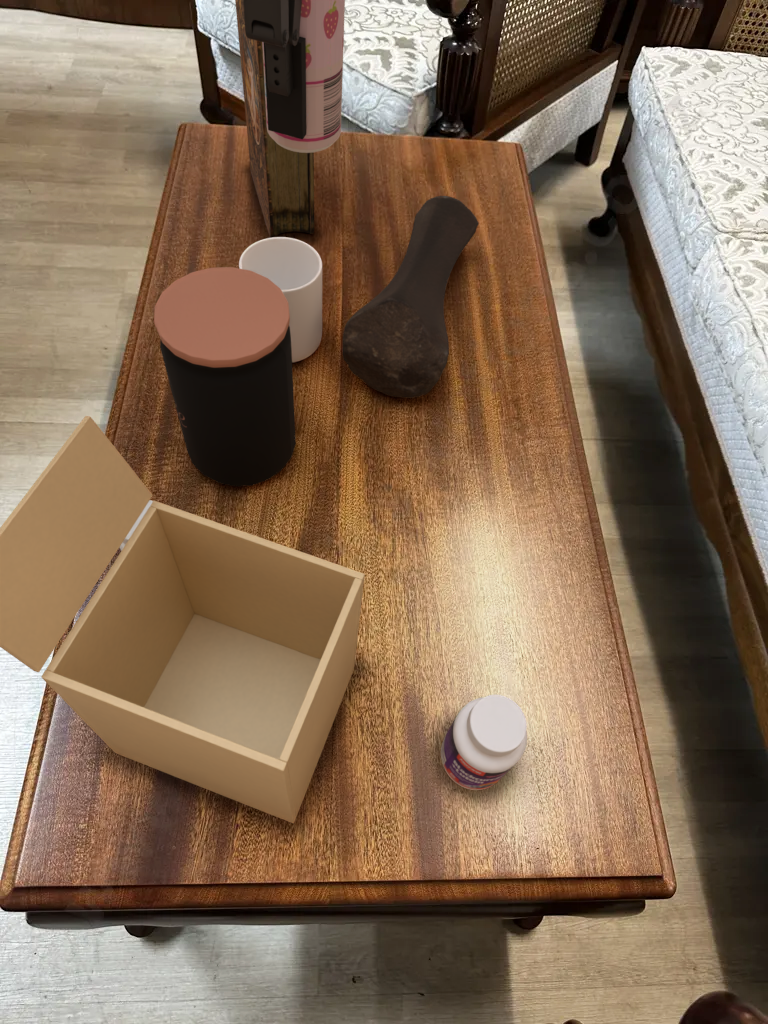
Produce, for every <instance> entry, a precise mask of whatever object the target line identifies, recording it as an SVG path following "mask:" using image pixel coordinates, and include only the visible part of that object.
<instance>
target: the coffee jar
mask: <svg viewBox="0 0 768 1024" xmlns="http://www.w3.org/2000/svg"><path fill="white" fill-rule="evenodd" d="M289 322H290V314H289V303H288V301H287V299H286V298H285V296H284V294H283V292H282V291H281V289H280V288H279V287H278V286H276V285H275V284H274V283H273V282H272V281H271V280H269V279H268V278H266V277H264V276H262V275H259V274H257V273H255V272H253V271H250V270H244V269H239V268H238V267H233V266H222V267H221V266H218V267H217V266H216V267H208V268H204V269H200V270H196V271H192V272H189V273H187V274H186V275H183V276H181V277H179V278H178V279H175V280H173V282H172V283H171V284H169V285H168V286H167V287H166V288H165V289H164V290H163V291H162V292H161V293H160V296H159V298H158V300H157V301H156V303H155V304H154V314H153V324H154V326H155V329H156V331H157V333H158V336H159V338H160V339H159V340H160V341H159V348H160V351H161V357H162V359H163V363H164V364H163V365H164V368H165V371H166V375H167V379H168V383H169V387H170V390H171V395H172V398H173V399H172V400H173V402H174V405H175V410H176V414H177V417H178V421H179V425H180V430H181V433H182V437H183V441H184V445H185V448H186V453H187V454H188V456H189V459H190V461H191V464H192V465H193V466H194V467H195V468H196V469H197V470H198V471H199V472H200V473H201V474H202V475H203V476H205V477H206V478H209V479H210V480H212V481H213V482H216V483H217V484H222V485H226V486H231V487H251V486H252V487H253V486H255V485H258V484H261V483H264V482H267V481H268V480H270V479H271V478H274V476H276V475H277V474H279V473H280V472H282V471H283V470H284V468H285V467H286V465H287V464H288V463H289V461H290V460H291V459H292V458H293V454H294V451H295V448H296V445H297V439H296V419H295V418H296V417H295V416H296V415H295V395H294V378H293V377H294V374H293V362H292V350H291V335H290V326H289Z"/></svg>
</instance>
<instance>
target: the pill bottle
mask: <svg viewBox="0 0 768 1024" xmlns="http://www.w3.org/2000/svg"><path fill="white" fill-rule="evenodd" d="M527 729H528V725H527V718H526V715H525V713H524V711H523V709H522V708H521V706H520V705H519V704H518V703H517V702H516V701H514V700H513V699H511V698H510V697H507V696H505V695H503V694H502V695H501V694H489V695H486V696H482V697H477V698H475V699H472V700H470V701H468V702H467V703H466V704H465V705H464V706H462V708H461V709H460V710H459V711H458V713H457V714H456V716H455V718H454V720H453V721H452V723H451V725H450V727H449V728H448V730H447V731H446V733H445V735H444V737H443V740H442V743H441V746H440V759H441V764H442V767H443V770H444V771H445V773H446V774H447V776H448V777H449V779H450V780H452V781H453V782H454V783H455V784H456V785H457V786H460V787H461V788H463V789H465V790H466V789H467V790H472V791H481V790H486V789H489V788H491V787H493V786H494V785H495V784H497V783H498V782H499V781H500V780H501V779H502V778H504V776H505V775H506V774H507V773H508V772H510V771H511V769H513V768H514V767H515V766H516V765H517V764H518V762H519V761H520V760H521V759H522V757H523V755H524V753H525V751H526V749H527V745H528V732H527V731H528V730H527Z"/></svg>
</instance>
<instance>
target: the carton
mask: <svg viewBox="0 0 768 1024" xmlns="http://www.w3.org/2000/svg"><path fill="white" fill-rule="evenodd" d="M152 501H153V502H152V504H151V506H150V507H149V509H148V510H147V512H146V513H145V515H144V516H143V518H142V520H141V521H140V523H139V524H138V526H137V527H136V529H135V531H134V532H133V534H132V535H131V537H130V538H129V540H128V541H127V543H126V545H125V546H124V548H123V549H122V551H121V550H120V552H119V553H118V555H117V557H116V559H115V560H114V562H113V564H111V567H110V568H109V570H108V571H107V573H106V574H105V576H104V577H103V578H102V581H101V582H100V584H99V585H98V587H97V588H96V590H95V591H94V593H93V595H92V596H91V598H90V599H89V601H88V602H87V604H86V606H85V607H84V609H83V610H82V612H81V614H80V615H79V617H78V618H77V620H76V621H75V623H74V624H73V626H72V628H71V629H70V631H69V633H67V636H66V637H65V639H64V640H63V642H62V643H61V645H60V647H58V650H57V651H56V653H55V654H54V656H53V657H52V659H51V661H50V662H49V663H48V665H47V667H46V669H45V670H44V671H43V673H42V674H41V679H42V680H43V681H44V682H45V683H46V684H47V685H48V686H49V687H50V688H51V689H52V690H53V691H54V692H55V693H56V694H57V695H58V696H59V697H60V698H61V699H62V701H64V702H65V704H67V705H68V707H70V708H71V710H72V711H74V712H75V714H76V715H77V716H78V717H80V719H82V720H83V722H84V723H85V724H86V725H87V726H88V727H89V728H90V729H91V730H92V731H93V732H94V733H95V734H96V735H97V736H98V737H99V738H100V739H101V740H102V741H103V742H104V743H105V744H106V745H107V747H109V748H110V750H112V752H113V753H114V754H117V755H119V756H121V757H124V758H127V759H129V760H132V761H134V762H137V763H139V764H142V765H144V766H147V767H150V768H152V769H154V770H157V771H159V772H162V773H165V774H167V775H170V776H172V777H175V778H177V779H180V780H182V781H185V782H188V783H189V784H191V785H195V786H198V787H200V788H203V789H205V790H207V791H210V792H213V793H215V794H217V795H221V796H222V797H225V798H228V799H230V800H233V801H235V802H238V803H240V804H243V805H246V806H248V807H251V808H253V809H256V810H258V811H261V812H263V813H266V814H268V815H270V816H273V817H276V818H278V819H281V820H284V821H286V822H289V823H291V824H295V822H296V819H297V816H298V814H299V811H300V809H301V806H302V804H303V801H304V798H305V796H306V794H307V791H308V788H309V785H310V783H311V781H312V778H313V775H314V773H315V770H316V767H317V765H318V762H319V760H320V757H321V755H322V752H323V749H324V747H325V744H326V742H327V739H328V737H329V735H330V732H331V729H332V727H333V724H334V721H335V719H336V716H337V714H338V711H339V709H340V706H341V703H342V701H343V699H344V696H345V694H346V691H347V688H348V685H349V684H350V681H351V678H352V675H353V673H354V670H355V664H356V657H357V656H356V655H357V649H358V648H357V646H358V638H359V629H360V621H361V620H360V619H361V611H362V603H363V595H364V584H365V577H366V575H365V573H364V572H360V571H357V570H354V569H352V568H349V567H347V566H344V565H341V564H337V563H335V562H332V561H329V560H326V559H324V558H321V557H317V556H316V555H312V554H309V553H306V552H304V551H300V550H297V549H295V548H292V547H288V546H286V545H283V544H280V543H277V542H274V541H272V540H269V539H265V538H263V537H261V536H258V535H254V534H252V533H249V532H246V531H243V530H240V529H237V528H234V527H232V526H229V525H225V524H223V523H220V522H217V521H214V520H212V519H209V518H206V517H203V516H200V515H197V514H194V513H191V512H188V511H185V510H183V509H180V508H177V507H174V506H171V505H168V504H165V503H162V502H159V501H157V500H152Z"/></svg>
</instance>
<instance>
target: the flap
mask: <svg viewBox="0 0 768 1024" xmlns="http://www.w3.org/2000/svg"><path fill="white" fill-rule="evenodd" d="M153 496H154V495H153V493H152V492H151V491H150V490H149V488H148V487H147V486H146V485H145V483H144V482H143V481H142V479H141V478H140V477H139V476H138V474H137V473H136V472H135V470H134V469H133V468H132V466H130V464H129V463H128V462H127V460H126V459H125V458H124V457H123V456H122V454H121V453H120V452H119V451H118V449H117V448H116V447H115V445H113V443H112V442H111V440H110V439H109V438H108V436H106V434H105V433H104V432H103V431H102V429H101V428H100V427H99V426H98V424H97V423H96V421H94V419H93V418H92V416H90V415H85V416H84V417H83V419H81V421H80V422H79V424H78V425H77V426H76V427H75V429H74V430H73V432H72V433H71V434H70V435H69V437H68V438H67V439H66V441H65V442H64V443H63V445H62V446H61V447H60V449H58V451H57V452H56V454H55V455H54V456H53V458H52V459H51V460H50V462H49V463H48V464H47V466H46V467H45V468H44V470H43V471H42V472H41V473H40V475H39V476H38V478H37V479H36V480H35V481H34V482H33V484H32V485H31V487H30V488H29V489H28V491H27V492H26V493H25V495H24V496H23V497H22V498H21V500H19V502H18V503H17V505H16V506H15V508H14V509H13V510H12V511H11V513H10V514H9V515H8V517H7V518H6V520H5V521H4V522H3V523H2V524H1V526H0V648H1V649H2V650H3V651H5V652H6V653H8V654H9V655H11V656H12V657H13V658H15V659H16V660H17V661H19V662H21V663H22V664H23V665H25V666H26V667H28V668H29V669H31V671H32V672H35V673H40V671H41V670H42V668H43V667H44V665H45V664H46V662H47V661H48V659H49V658H50V656H51V655H52V653H53V652H54V650H55V648H56V647H57V645H58V643H59V642H60V641H61V639H62V637H63V636H64V634H65V633H66V632H67V630H68V629H69V626H70V625H71V623H72V622H73V621H74V619H75V617H76V616H77V614H78V613H79V611H80V609H81V608H82V606H83V605H84V603H85V602H86V600H87V598H88V597H89V595H90V594H91V592H92V591H93V589H94V588H95V586H96V585H97V583H98V582H99V580H100V579H101V577H102V575H103V574H104V572H105V571H106V569H107V568H108V566H109V565H110V563H111V561H112V560H113V558H114V557H115V555H116V553H117V552H118V550H120V548H119V547H120V546H121V544H122V542H123V541H124V539H125V538H126V536H127V535H128V533H129V531H130V530H131V528H132V527H133V525H134V524H135V522H136V521H137V519H138V517H139V516H140V514H141V513H142V511H143V510H144V508H145V507H146V505H147V503H148V502H149V500H151V499H152V497H153Z"/></svg>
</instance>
